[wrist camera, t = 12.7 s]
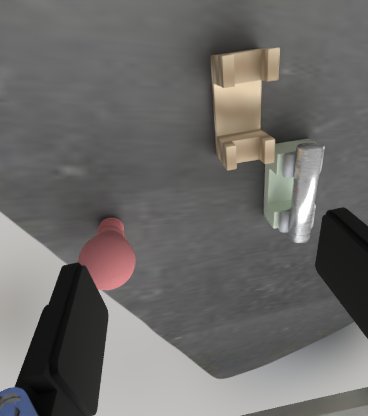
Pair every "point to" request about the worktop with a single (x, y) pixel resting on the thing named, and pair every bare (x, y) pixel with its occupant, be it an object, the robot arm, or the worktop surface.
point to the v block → (282, 184)
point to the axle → (304, 190)
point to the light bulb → (108, 255)
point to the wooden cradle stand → (242, 104)
